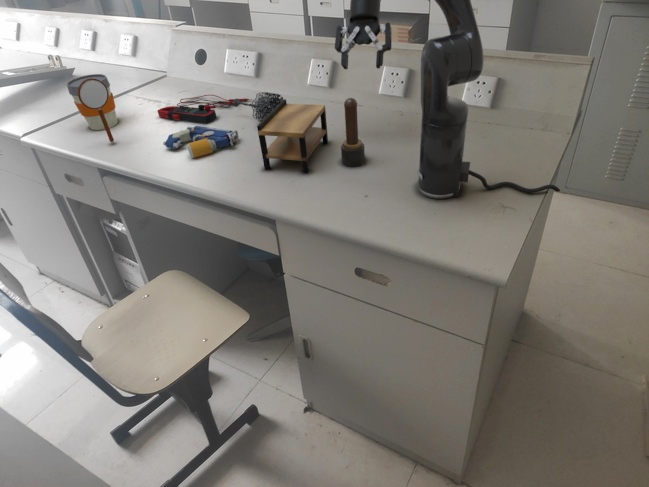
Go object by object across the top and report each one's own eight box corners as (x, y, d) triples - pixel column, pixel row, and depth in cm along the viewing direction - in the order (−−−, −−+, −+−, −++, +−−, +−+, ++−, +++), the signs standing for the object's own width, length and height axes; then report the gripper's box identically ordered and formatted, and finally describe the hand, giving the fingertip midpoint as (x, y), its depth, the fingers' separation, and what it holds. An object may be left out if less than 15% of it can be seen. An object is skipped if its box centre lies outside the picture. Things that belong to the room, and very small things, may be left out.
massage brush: (248, 111, 154) (243, 83, 148) (300, 121, 144) (297, 91, 138) (229, 121, 148) (223, 93, 142) (282, 132, 138) (278, 102, 132)
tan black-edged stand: (328, 142, 130) (324, 100, 122) (307, 173, 116) (302, 128, 109) (289, 140, 133) (283, 99, 126) (264, 169, 120) (256, 126, 112)
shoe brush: (367, 157, 121) (365, 94, 111) (361, 167, 117) (359, 103, 106) (345, 155, 123) (341, 93, 112) (339, 166, 118) (334, 102, 108)
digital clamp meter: (209, 113, 143) (150, 106, 152) (213, 127, 145) (154, 119, 155) (250, 88, 159) (194, 82, 169) (252, 100, 162) (197, 94, 171)
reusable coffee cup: (80, 125, 156) (61, 81, 147) (116, 114, 162) (100, 71, 153) (90, 135, 148) (71, 90, 139) (128, 124, 154) (111, 79, 145)
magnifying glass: (101, 150, 139) (74, 84, 126) (99, 148, 139) (71, 83, 127) (127, 139, 143) (103, 74, 131) (124, 138, 144) (100, 74, 132)
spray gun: (212, 163, 125) (244, 141, 135) (208, 149, 122) (241, 127, 133) (157, 153, 134) (191, 133, 144) (152, 140, 131) (187, 121, 142)
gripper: (334, -3, 113) (330, 64, 115) (391, -7, 109) (387, 62, 111) (341, 9, 120) (338, 73, 122) (395, 6, 116) (391, 71, 118)
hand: (361, 68), depth 116 cm, fingers open, 8 cm apart
